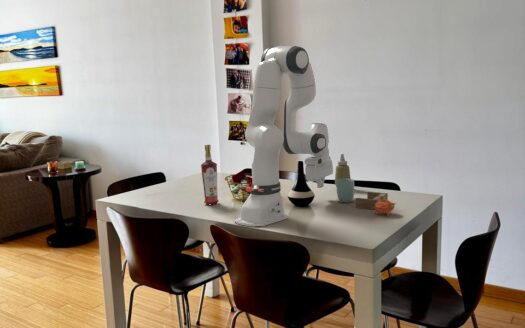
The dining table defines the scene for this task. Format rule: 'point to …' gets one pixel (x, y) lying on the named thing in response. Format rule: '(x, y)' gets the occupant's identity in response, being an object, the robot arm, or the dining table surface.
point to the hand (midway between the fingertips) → (320, 187)
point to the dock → (370, 200)
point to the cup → (345, 190)
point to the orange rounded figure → (384, 207)
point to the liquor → (209, 178)
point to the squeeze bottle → (342, 170)
